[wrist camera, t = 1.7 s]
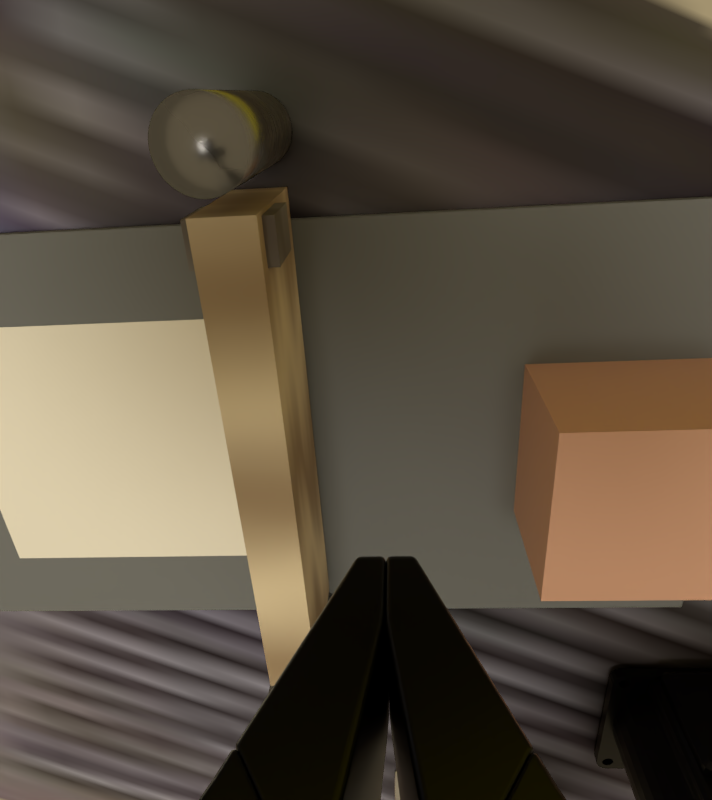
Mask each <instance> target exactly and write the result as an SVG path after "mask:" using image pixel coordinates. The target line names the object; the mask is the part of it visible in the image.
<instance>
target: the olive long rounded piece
mask: <svg viewBox="0 0 712 800" xmlns="http://www.w3.org/2000/svg"><path fill="white" fill-rule="evenodd" d="M291 139H292V125H291V120H290V117H289V115H288V112H287V111H286V109H285V107H284V106H283V105H282V104H281V103H280V101H279V100H277V99H276V98H275V97H273V96H272V95H270V94H268V93H265V92H262V91H242V90H198V89H188V90H182V91H179V92H176V93H174V94H172V95H170V96H168V97H167V98H166V99H164V100H163V101H162V102H161V103H160V104H159V106H158V107H157V108H156V110H155V112H154V114H153V116H152V118H151V121H150V125H149V131H148V144H149V151H150V154H151V158H152V160H153V163H154V165H155V167H156V169H157V170H158V172H159V173H160V175H161V176H162V177H163V179H164V180H165V181H166V182H167V183H168V184H169V185H170V186H171V187H173V188H174V189H175V190H177V191H179V192H180V193H182V194H184V195H187V196H189V197H193V198H198V199H212V198H216V197H220V196H222V195H224V194H226V193H228V192H229V191H231V190H232V189H234V188H236V187H237V186H239V185H241V184H242V183H244V182H245V181H247V180H249V179H250V178H252V177H254V176H255V175H257V174H258V173H260V172H262V171H263V170H265V169H267V168H268V167H270V166H271V165H273V164H275V163H276V162H278V161H279V160H280V159H282V157H283V156H284V155H285V154H286V152H287V151H288V149H289V146H290V143H291ZM332 595H333V594H332V593H330V592H329V595H328V601H329V600H330V598H331V596H332ZM272 688H273V686H271V685H270V689H269V692H270V691H271V689H272Z"/></svg>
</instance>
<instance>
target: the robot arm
mask: <svg viewBox="0 0 712 800" xmlns="http://www.w3.org/2000/svg"><path fill="white" fill-rule="evenodd" d="M389 704H390V721H391V731H392V740H393V747H394V755H395V763H396V771H397V778H398V786H399V794H400V800H566V799H565V797H564V796H563V794H562V793H561V791H560V790H559V788H558V787H557V785H556V784H555V782H554V780H553V779H552V777H551V775H550V774H549V772H548V771H547V769H546V767H545V766H544V764H543V762H542V761H541V759H540V758H539V756H538V755H537V754H536V753H533V747H532V745H531V744H530V742H529V740H528V739H527V737H526V736H525V734H524V732H523V731H522V729H521V727H520V726H519V724H518V723H517V721H516V719H515V718H514V716H513V714H512V713H511V711H510V710H509V708H508V706H507V705H506V703H505V701H504V700H503V698H502V697H501V695H500V693H499V692H498V690H497V689H496V687H495V685H494V684H493V682H492V680H491V679H490V677H489V676H488V674H487V672H486V671H485V669H484V667H483V666H482V664H481V663H480V661H479V659H478V658H477V656H476V654H475V653H474V651H473V650H472V648H471V646H470V645H469V643H468V642H467V640H466V638H465V637H464V635H463V633H462V632H461V630H460V629H459V627H458V625H457V624H456V622H455V620H454V619H453V617H452V616H451V614H450V612H449V611H448V609H447V608H446V606H445V604H444V603H443V601H442V599H441V598H440V596H439V595H438V593H437V591H436V590H435V588H434V586H433V585H432V583H431V582H430V580H429V578H428V577H427V575H426V573H425V572H424V570H423V569H422V567H421V565H420V564H419V562H418V561H417V559H416V558H415V557H413V556H390V557H388V558H387V560H385V558H384V557H382V556H362V557H358V558H357V559H356V560H355V561H354V562H353V564H352V566H351V567H350V569H349V570H348V572H347V573H346V575H345V576H344V578H343V579H342V581H341V583H340V584H339V586H338V587H337V589H336V590H335V592H334V593H333V595H332V596H331V598H330V600H329V601H328V603H327V604H326V606H325V607H324V609H323V610H322V612H321V614H320V615H319V617H318V618H317V620H316V621H315V623H314V624H313V626H312V627H311V629H310V631H309V632H308V634H307V635H306V637H305V638H304V640H303V641H302V643H301V644H300V646H299V648H298V649H297V651H296V652H295V654H294V655H293V657H292V658H291V660H290V661H289V663H288V665H287V666H286V668H285V669H284V671H283V672H282V674H281V675H280V677H279V678H278V680H277V682H276V683H275V685H274V686H273V688H272V689H271V691H270V692H269V694H268V695H267V697H266V699H265V700H264V702H263V703H262V705H261V706H260V708H259V709H258V711H257V712H256V714H255V716H254V717H253V719H252V720H251V722H250V723H249V725H248V726H247V728H246V729H245V731H244V733H243V734H242V736H241V737H240V739H239V740H238V742H237V743H236V750H232V751H231V752H230V754H229V755H228V757H227V758H226V760H225V761H224V763H223V765H222V766H221V768H220V769H219V771H218V772H217V774H216V775H215V777H214V779H213V780H212V781H211V783H210V784H209V786H208V787H207V789H206V790H205V792H204V793H203V795H202V796H201V797H200V799H199V800H381V790H382V781H383V772H384V762H385V753H386V744H387V734H388V721H389ZM594 755H595V759H596V762H597V764H598V766H600V767H602V768H625V770H626V773H627V776H628V779H629V781H630V784H631V787H632V790H633V793H634V796H635V799H636V800H712V668H622V669H617V670H614V671H613V672H612V673H611V674H610V677H609V682H608V687H607V692H606V697H605V702H604V707H603V712H602V717H601V722H600V727H599V732H598V737H597V743H596V748H595V753H594Z"/></svg>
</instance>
